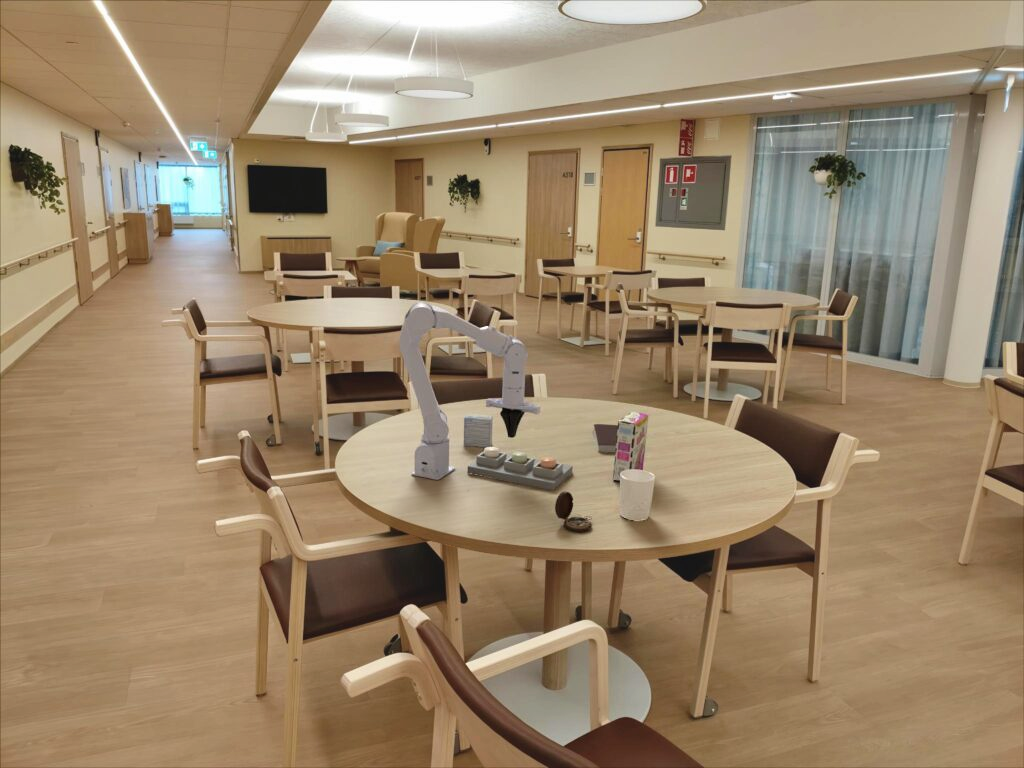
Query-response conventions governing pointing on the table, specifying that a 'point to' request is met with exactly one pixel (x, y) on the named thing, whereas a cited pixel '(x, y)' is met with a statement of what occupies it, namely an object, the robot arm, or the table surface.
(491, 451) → the off-white button
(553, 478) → the button board
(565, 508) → the compass
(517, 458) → the sage green button
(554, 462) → the terracotta button
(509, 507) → the table surface
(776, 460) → the table surface
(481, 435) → the medicine box
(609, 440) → the book
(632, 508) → the white cup
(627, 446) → the candy bar box
